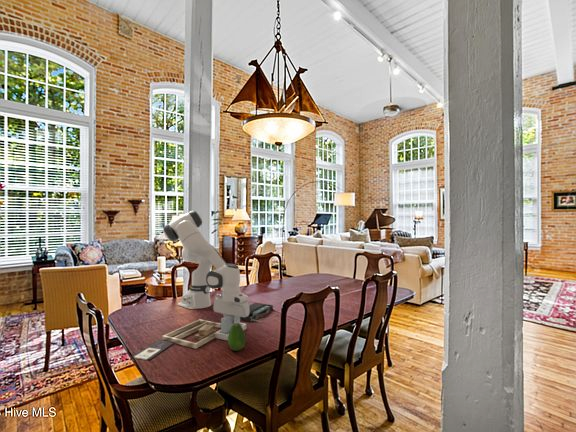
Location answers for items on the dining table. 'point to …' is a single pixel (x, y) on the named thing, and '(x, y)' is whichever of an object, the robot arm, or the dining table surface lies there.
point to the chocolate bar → (153, 350)
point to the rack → (186, 343)
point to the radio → (257, 312)
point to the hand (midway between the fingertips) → (231, 323)
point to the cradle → (225, 336)
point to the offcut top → (206, 330)
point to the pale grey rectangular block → (227, 323)
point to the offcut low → (203, 336)
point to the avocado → (236, 337)
